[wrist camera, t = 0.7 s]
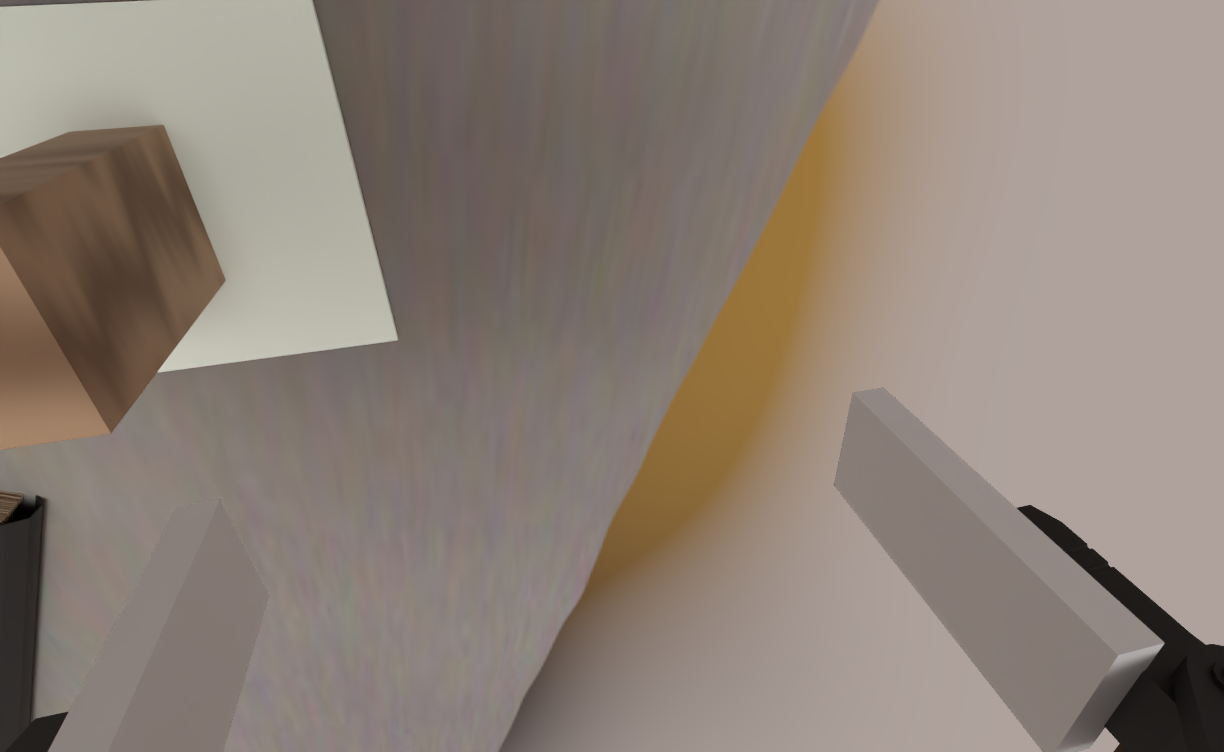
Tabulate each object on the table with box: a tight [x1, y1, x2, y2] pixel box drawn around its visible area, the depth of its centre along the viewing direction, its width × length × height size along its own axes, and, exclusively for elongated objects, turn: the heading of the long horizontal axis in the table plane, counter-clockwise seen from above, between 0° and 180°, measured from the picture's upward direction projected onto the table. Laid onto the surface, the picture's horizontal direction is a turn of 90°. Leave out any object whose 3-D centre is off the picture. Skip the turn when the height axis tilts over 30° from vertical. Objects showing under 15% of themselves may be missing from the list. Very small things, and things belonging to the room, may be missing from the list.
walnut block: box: [0, 125, 226, 450], centre depth 26 cm, size 8×4×14 cm, turn 2°
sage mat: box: [0, 0, 398, 373], centre depth 31 cm, size 18×30×1 cm, turn 92°
